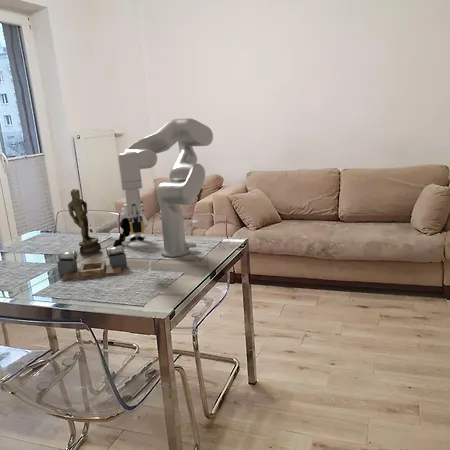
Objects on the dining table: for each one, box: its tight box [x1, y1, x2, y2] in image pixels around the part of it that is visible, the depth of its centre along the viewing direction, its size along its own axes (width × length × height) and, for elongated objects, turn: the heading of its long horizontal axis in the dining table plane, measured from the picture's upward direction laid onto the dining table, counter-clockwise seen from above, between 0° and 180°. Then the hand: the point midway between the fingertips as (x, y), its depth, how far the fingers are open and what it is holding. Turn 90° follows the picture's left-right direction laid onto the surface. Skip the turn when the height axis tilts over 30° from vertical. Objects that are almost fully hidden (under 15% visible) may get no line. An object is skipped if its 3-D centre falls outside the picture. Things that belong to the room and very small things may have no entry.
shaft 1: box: [56, 250, 79, 277], centre depth 189 cm, size 7×4×9 cm, turn 85°
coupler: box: [129, 216, 145, 235], centre depth 184 cm, size 5×5×6 cm
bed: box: [62, 260, 122, 282], centre depth 188 cm, size 22×11×3 cm, turn 100°
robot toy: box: [112, 200, 150, 248], centre depth 227 cm, size 19×14×20 cm
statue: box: [67, 188, 102, 255], centre depth 213 cm, size 11×11×30 cm
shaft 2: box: [105, 245, 128, 270], centre depth 191 cm, size 7×4×9 cm, turn 115°
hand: (137, 229), depth 185 cm, fingers closed on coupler, 5 cm apart
